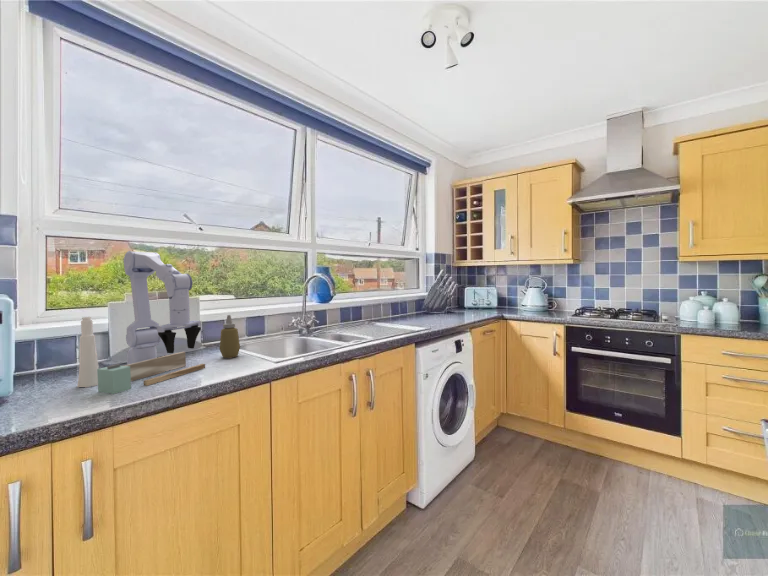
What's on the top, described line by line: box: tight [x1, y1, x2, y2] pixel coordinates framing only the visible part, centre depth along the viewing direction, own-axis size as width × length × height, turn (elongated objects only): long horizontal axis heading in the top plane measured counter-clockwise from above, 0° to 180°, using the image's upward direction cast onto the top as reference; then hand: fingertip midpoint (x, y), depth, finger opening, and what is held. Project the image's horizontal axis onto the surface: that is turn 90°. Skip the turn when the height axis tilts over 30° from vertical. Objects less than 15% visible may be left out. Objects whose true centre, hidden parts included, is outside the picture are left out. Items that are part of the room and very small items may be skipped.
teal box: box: [97, 363, 132, 395], centre depth 104 cm, size 7×5×8 cm
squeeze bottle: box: [219, 314, 241, 359], centre depth 145 cm, size 8×8×18 cm
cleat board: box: [123, 351, 206, 387], centre depth 120 cm, size 12×22×6 cm, turn 160°
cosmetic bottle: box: [76, 316, 100, 388], centre depth 109 cm, size 6×6×22 cm
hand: (181, 350), depth 113 cm, fingers open, 7 cm apart
